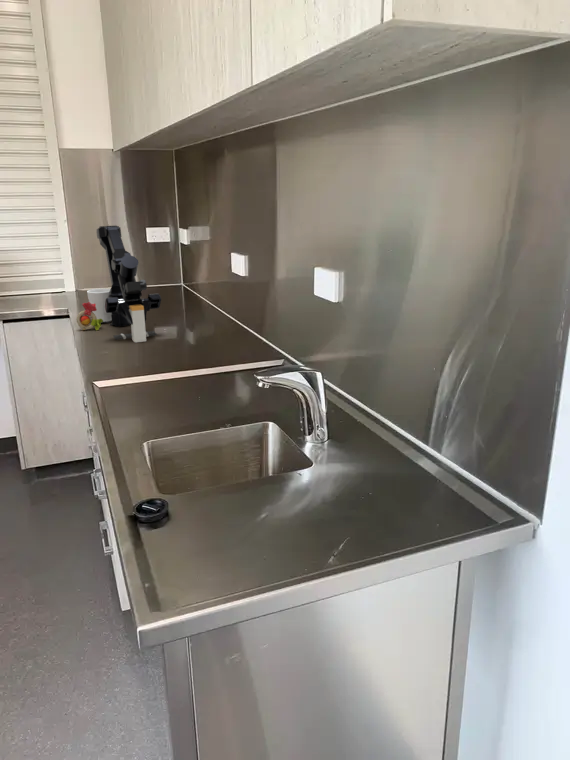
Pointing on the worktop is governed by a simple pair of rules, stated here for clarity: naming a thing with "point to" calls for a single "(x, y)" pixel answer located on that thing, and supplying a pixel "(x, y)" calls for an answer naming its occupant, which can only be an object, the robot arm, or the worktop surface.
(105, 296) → the cup
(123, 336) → the cord bundle
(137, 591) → the worktop surface
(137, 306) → the orange-topped grey block
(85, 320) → the bird rattle
